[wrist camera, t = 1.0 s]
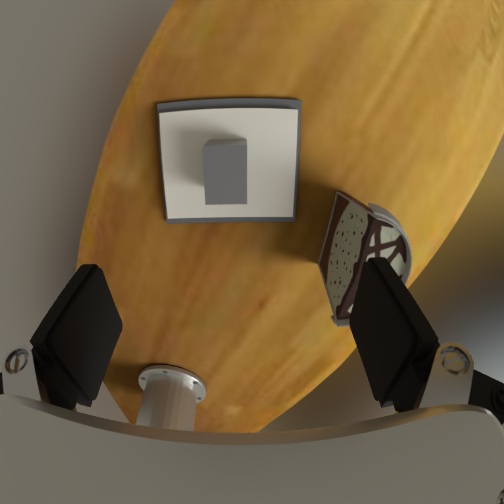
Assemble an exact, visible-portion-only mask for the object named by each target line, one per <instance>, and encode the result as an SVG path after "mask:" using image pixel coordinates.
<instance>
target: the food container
mask: <svg viewBox="0 0 504 504" xmlns="http://www.w3.org/2000/svg"><path fill="white" fill-rule="evenodd" d="M368 205H369V206H370V208H369V207H368V206H366V205H365V204H363V203H361V202H360V201H358V200H357V199H355V198H353V197H352V196H350V195H348V194H346V193H344V192H340V191H336V195H335V200H334V204H333V208H332V212H331V216H330V220H329V224H328V228H327V232H326V236H325V239H324V243H323V247H322V251H321V254H320V258H319V261H318V266H319V269H320V272H321V275H322V278H323V282H324V285H325V288H326V291H327V295H328V298H329V301H330V305H331V308H332V311H333V315H334V316H331V318H332V320H333V322H334V323H335V324H336V325H337V327H344V326H350V325H349V318H350V314H351V310H352V307H353V303H354V299H355V295H356V291H357V287H358V283H359V279H360V275H361V270H362V266H363V263H364V262H367V260H368V259H369V258H370V257H385V258H386V259H387V260H388V262H389V263H390V264H391V266H392V267H393V269H394V270H395V272H396V273H397V274H398V276H399V277H400V279H401V280H402V282H403V283H404V285H406V283H407V280H408V278H409V275H410V271H411V265H412V255H411V248H410V243H409V240H408V237H407V235H406V234H405V232H404V230H403V228H402V226H401V225H400V223H399V221H398V220H397V219H396V218H395V217H394V216H393V215H392V214H391V213H390V212H389V211H387V210H386V209H384V208H382V207H380V206H378V205H375V204H371V203H369V204H368Z"/></svg>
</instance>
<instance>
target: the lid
mask: <svg viewBox="0 0 504 504" xmlns="http://www.w3.org/2000/svg"><path fill="white" fill-rule="evenodd" d="M159 118H160V138H161V153H162V166H163V177H164V188H165V197H166V206H167V215H168V219H173V218H211V217H293V205H294V189H295V170H296V149H297V123H298V110H295V109H273V108H224V109H202V110H188V111H176V112H166V113H159Z"/></svg>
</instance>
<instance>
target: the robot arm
mask: <svg viewBox="0 0 504 504" xmlns="http://www.w3.org/2000/svg"><path fill="white" fill-rule="evenodd" d="M349 325H350V329H351V331H352V334H353V337H354V340H355V342H356V345H357V348H358V351H359V353H360V356H361V359H362V362H363V365H364V368H365V371H366V374H367V377H368V380H369V383H370V386H371V389H372V393H373V396H374V398H375V400H376V401H378V400H379V402H380V405H381V408H383V407H387V406H392V405H394V408H395V410H396V413H395V414H393V415H390V416H385V417H380V418H376V419H371V420H366V421H360V422H354V423H349V424H343V425H337V426H330V427H323V428H315V429H306V430H295V431H283V432H262V433H215V432H196V431H194V421H195V411H196V403H199V402H200V401H202V400H203V399H204V398H205V396H206V386H205V384H204V382H203V381H202V380H201V379H200V378H199V377H198V376H196V375H195V374H193V373H191V372H189V371H187V370H185V369H182V368H178V367H174V366H169V365H154V366H150V367H146V368H145V369H143V370H142V371H141V372H140V375H139V379H138V382H139V385H140V387H141V388H142V390H143V391H144V393H143V397H142V401H141V406H140V410H139V414H138V418H137V423H136V425H135V424H130V423H124V422H119V421H114V420H109V419H104V418H100V417H96V416H92V415H88V414H84V413H79V412H77V410H76V407H75V406H76V403H78V404H80V405H84V406H88V407H91V404H92V400H95V399H96V397H97V395H98V392H99V389H100V386H101V383H102V380H103V378H104V375H105V372H106V369H107V367H108V364H109V361H110V359H111V356H112V354H113V351H114V348H115V346H116V343H117V341H118V338H119V336H120V334H121V331H122V320H121V318H120V316H119V313H118V311H117V308H116V306H115V303H114V301H113V298H112V295H111V293H110V290H109V287H108V285H107V282H106V279H105V276H104V273H103V271H102V269H101V268H99V267H98V266H97V265H96V264H83V265H81V266H80V268H79V269H78V270H77V272H76V273H75V274H74V276H73V277H72V278H71V280H70V281H69V282H68V284H67V285H66V286H65V288H64V289H63V291H62V292H61V294H60V295H59V296H58V298H57V299H56V301H55V302H54V304H53V305H52V307H51V308H50V310H49V311H48V313H47V314H46V316H45V317H44V319H43V320H42V322H41V323H40V325H39V327H38V328H37V330H36V331H35V333H34V335H33V336H32V338H31V340H30V343H31V344H32V345H33V349H32V350H31V349H30V348H29V347H27V346H25V345H19V346H16V347H14V348H13V349H11V350H10V351H9V352H8V353H7V354H6V356H5V357H4V360H3V362H2V372H1V373H0V504H504V384H503V383H502V382H499V381H497V380H495V379H493V378H491V377H489V376H487V375H485V374H482V373H480V372H478V371H476V370H474V361H473V359H472V356H471V355H470V353H469V352H468V351H467V350H466V349H465V348H464V347H463V346H461V345H459V344H456V343H445V344H442V345H441V346H440V344H439V343H438V337H437V336H436V334H435V332H434V330H433V329H432V327H431V325H430V324H429V322H428V320H427V319H426V317H425V316H424V314H423V313H422V311H421V309H420V308H419V306H418V304H417V303H416V301H415V300H414V298H413V297H412V295H411V294H410V292H409V291H408V289H407V288H406V286H405V285H404V283H403V282H402V280H401V279H400V277H399V276H398V274H397V273H396V272H395V270H394V269H393V267H392V266H391V264H390V263H389V262H388V260H387V259H386V258H385V257H370V258H369V259H368V260H367V262H364V263H363V266H362V270H361V275H360V279H359V283H358V287H357V291H356V295H355V299H354V303H353V307H352V310H351V314H350V318H349Z"/></svg>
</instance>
